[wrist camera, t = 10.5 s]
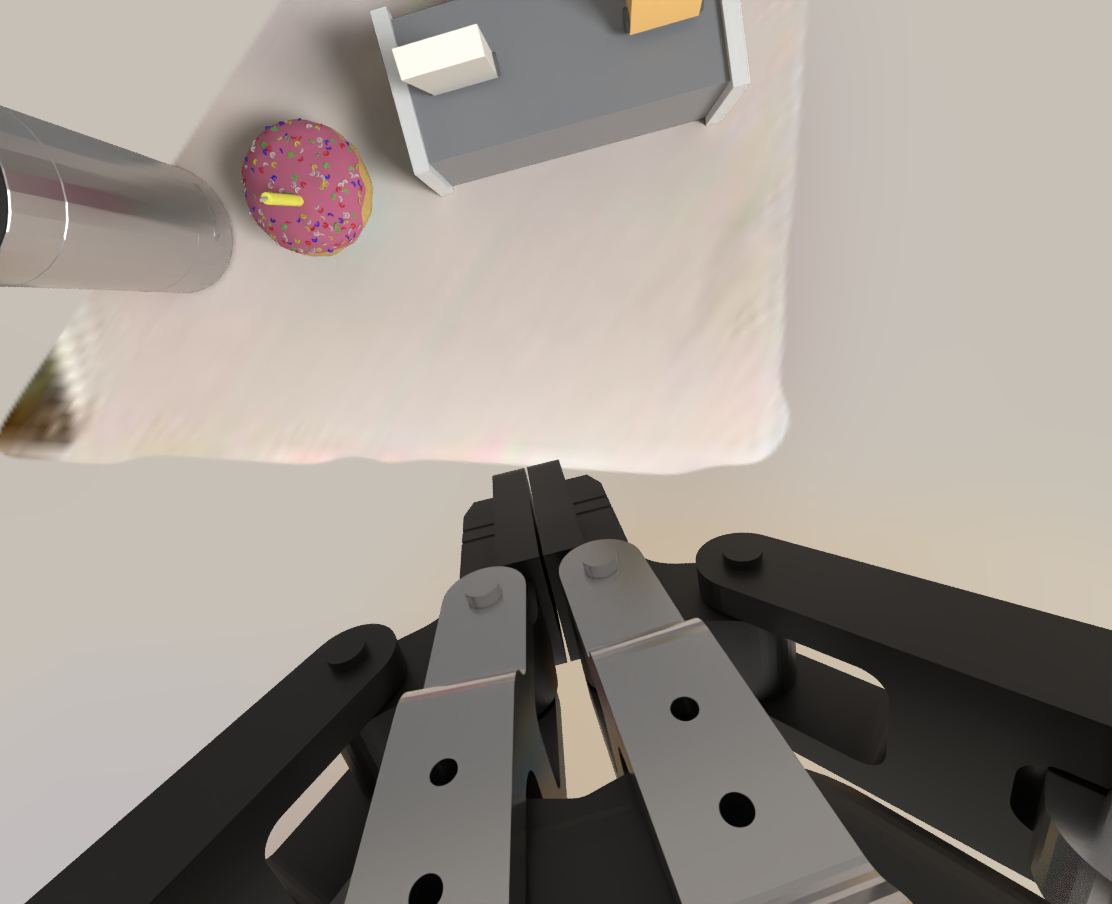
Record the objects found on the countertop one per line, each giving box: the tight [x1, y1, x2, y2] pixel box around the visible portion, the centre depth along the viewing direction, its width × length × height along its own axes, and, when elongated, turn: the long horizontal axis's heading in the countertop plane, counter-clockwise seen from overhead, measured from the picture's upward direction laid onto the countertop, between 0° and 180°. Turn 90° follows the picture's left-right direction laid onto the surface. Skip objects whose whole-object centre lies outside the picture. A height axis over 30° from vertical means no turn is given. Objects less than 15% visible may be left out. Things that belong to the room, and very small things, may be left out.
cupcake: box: [241, 118, 373, 256], centre depth 35 cm, size 9×8×12 cm
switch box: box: [370, 0, 750, 197], centre depth 35 cm, size 21×9×7 cm, turn 103°
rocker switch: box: [392, 24, 501, 96], centre depth 28 cm, size 4×1×9 cm, turn 103°
